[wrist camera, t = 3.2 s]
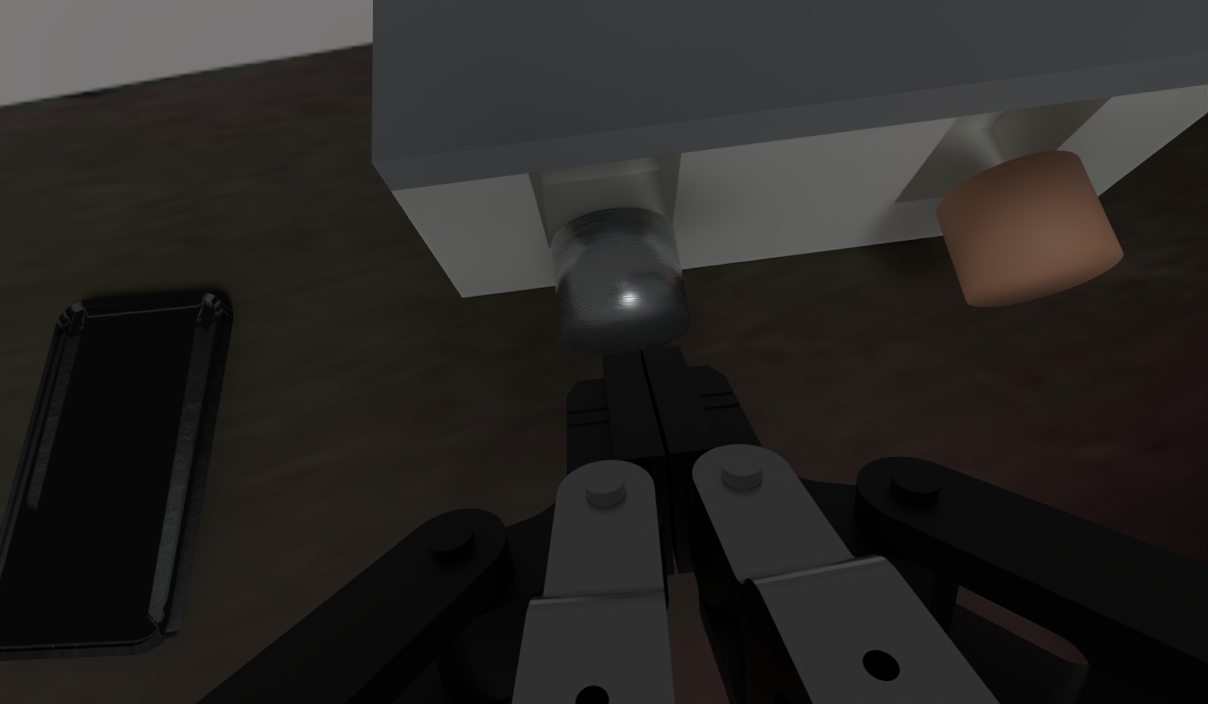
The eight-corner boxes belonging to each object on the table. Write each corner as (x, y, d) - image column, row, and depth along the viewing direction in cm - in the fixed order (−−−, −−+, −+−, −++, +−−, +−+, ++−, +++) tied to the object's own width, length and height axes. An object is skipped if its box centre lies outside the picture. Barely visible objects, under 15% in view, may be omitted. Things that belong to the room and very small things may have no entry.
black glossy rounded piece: (685, 346, 22) (697, 298, 18) (567, 361, 22) (552, 317, 18) (670, 263, 23) (679, 199, 19) (559, 277, 23) (542, 217, 19)
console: (1067, 219, 27) (1301, 40, 18) (462, 297, 27) (371, 162, 18) (994, 50, 30) (1159, -177, 21) (454, 121, 30) (373, -73, 21)
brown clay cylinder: (1060, 298, 22) (1160, 238, 18) (942, 313, 22) (1015, 257, 18) (1027, 216, 23) (1114, 142, 19) (914, 231, 23) (977, 160, 19)
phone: (226, 290, 27) (161, 653, 22) (241, 300, 28) (183, 648, 23) (60, 301, 27) (-40, 662, 22) (81, 311, 28) (-10, 657, 24)
